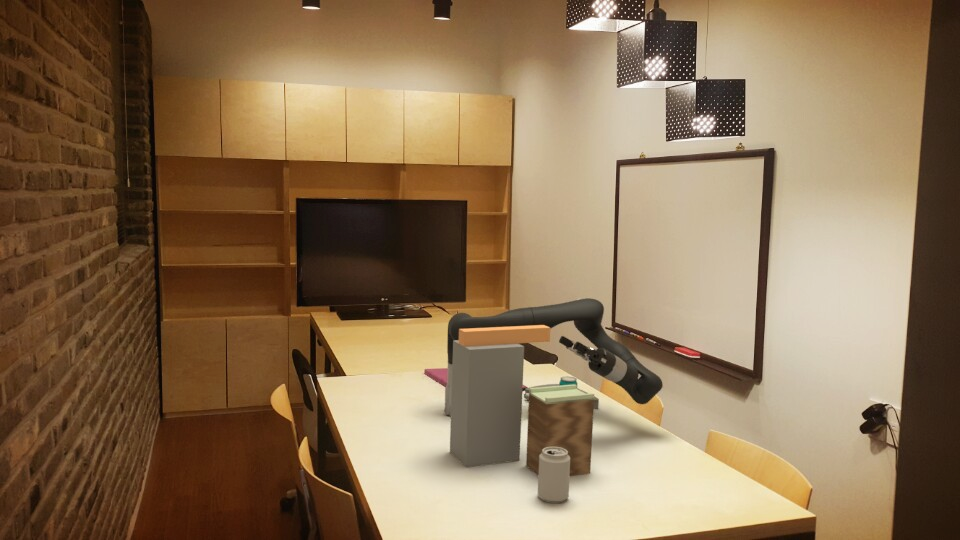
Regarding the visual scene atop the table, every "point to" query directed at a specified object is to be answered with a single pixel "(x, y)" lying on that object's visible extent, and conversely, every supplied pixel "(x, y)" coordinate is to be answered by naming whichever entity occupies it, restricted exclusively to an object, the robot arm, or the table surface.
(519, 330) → the orange wooden bar
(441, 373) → the thin magenta plate
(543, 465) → the can
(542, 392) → the green tray
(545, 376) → the table surface
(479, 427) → the grey stand
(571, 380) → the beverage can
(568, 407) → the walnut pedestal
